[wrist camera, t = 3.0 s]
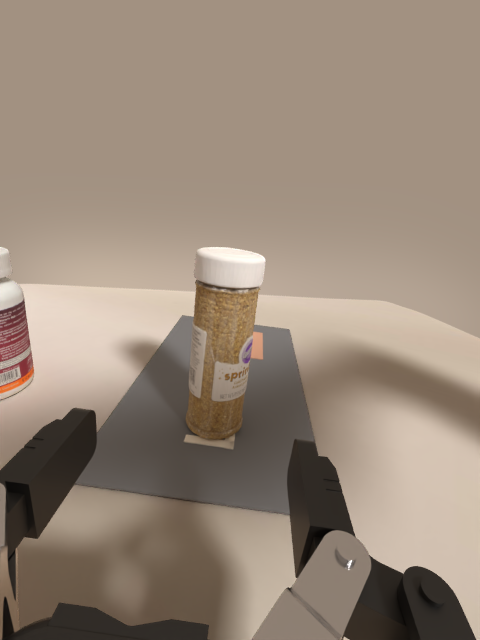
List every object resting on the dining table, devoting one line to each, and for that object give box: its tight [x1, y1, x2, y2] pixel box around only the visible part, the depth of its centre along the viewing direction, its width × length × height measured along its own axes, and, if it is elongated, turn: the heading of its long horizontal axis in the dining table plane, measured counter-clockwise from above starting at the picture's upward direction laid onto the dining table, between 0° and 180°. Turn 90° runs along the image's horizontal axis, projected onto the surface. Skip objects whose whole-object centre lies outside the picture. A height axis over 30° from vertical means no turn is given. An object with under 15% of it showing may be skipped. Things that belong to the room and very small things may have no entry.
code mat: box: [75, 315, 318, 515], centre depth 32 cm, size 16×30×1 cm, turn 176°
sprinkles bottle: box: [186, 247, 265, 439], centre depth 23 cm, size 5×5×14 cm
